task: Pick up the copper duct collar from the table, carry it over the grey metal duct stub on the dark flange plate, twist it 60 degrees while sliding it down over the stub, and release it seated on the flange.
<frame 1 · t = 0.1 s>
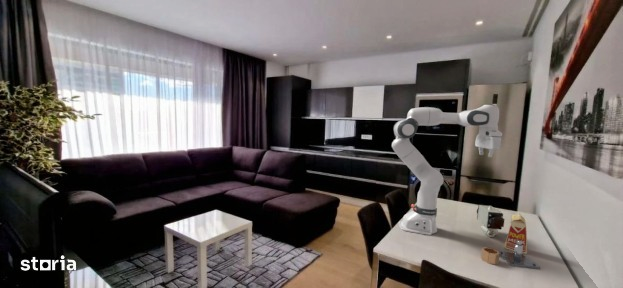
hand: (485, 155, 147), 48 cm above the table, fingers open, 8 cm apart
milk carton: (515, 249, 134), on the table
collar: (489, 260, 121), on the table
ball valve: (488, 235, 151), on the table
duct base: (517, 260, 122), on the table
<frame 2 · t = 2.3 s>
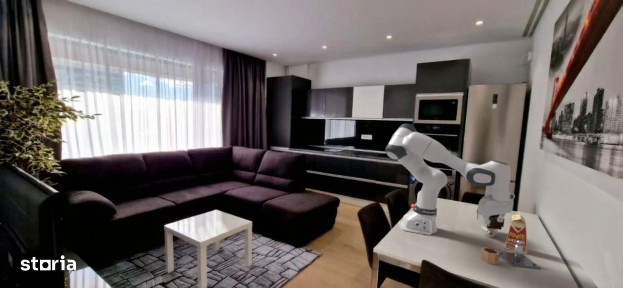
hand: (493, 222, 120), 19 cm above the table, fingers open, 8 cm apart
nothing on the table moved.
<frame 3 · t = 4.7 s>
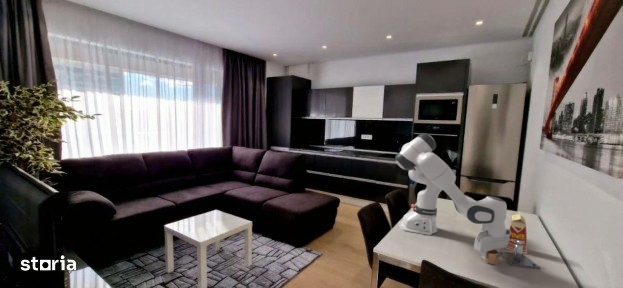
hand: (489, 257, 121), 2 cm above the table, fingers closed on collar, 7 cm apart
collar: (489, 260, 121), on the table, touching gripper
everything else where it was.
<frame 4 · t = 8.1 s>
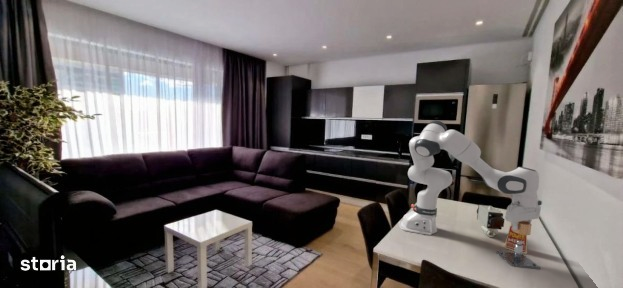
hand: (520, 228, 121), 16 cm above the table, fingers closed on collar, 7 cm apart
collar: (520, 231, 121), point 15 cm above the table, touching gripper
everything else where it was.
when the fingers open (5 cm above the table, at t = 11.4 s): collar drops 2 cm, resting on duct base.
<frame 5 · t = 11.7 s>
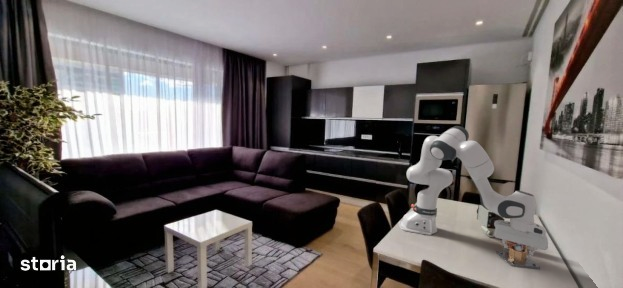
hand: (518, 251, 122), 5 cm above the table, fingers open, 8 cm apart
collar: (517, 258, 122), point 1 cm above the table, touching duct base
everything else where it was.
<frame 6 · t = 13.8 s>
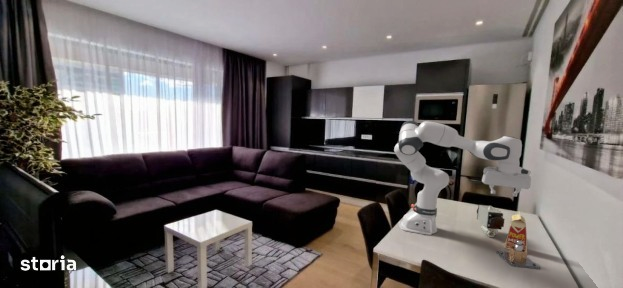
hand: (503, 194, 127), 31 cm above the table, fingers open, 8 cm apart
nothing on the table moved.
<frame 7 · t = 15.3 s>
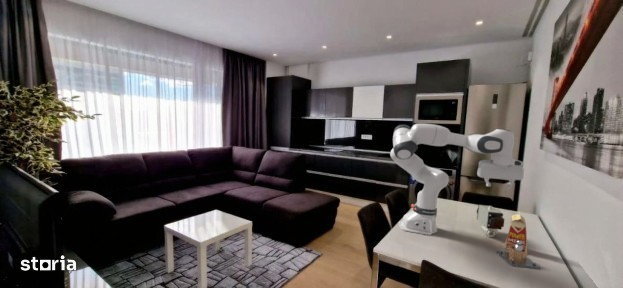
hand: (498, 187, 129), 34 cm above the table, fingers open, 8 cm apart
nothing on the table moved.
at the end: collar 0.1 cm off-centre on the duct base, point 1.0 cm above the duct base's base; the gripper is holding nothing; collar tilted 0° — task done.
